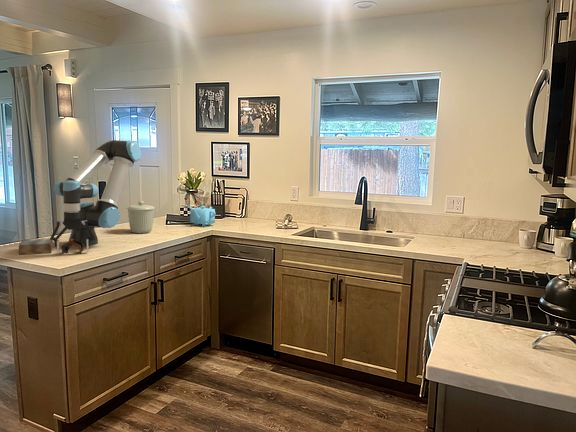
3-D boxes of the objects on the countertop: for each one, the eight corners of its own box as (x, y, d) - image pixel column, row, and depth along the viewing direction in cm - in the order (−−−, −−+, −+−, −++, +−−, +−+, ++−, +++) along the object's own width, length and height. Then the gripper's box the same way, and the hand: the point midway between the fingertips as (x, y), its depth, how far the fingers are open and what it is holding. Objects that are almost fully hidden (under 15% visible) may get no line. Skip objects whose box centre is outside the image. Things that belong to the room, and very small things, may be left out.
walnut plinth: (52, 247, 227) (52, 238, 226) (51, 253, 215) (51, 243, 214) (22, 248, 221) (21, 239, 220) (18, 254, 209) (18, 245, 208)
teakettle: (216, 227, 314) (217, 207, 312) (191, 227, 307) (191, 207, 305) (211, 223, 331) (212, 204, 329) (187, 223, 324) (187, 204, 322)
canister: (127, 229, 287) (127, 199, 284) (155, 229, 293) (155, 199, 290) (126, 234, 270) (125, 202, 267) (155, 234, 276) (155, 202, 273)
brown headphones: (67, 251, 222) (76, 238, 223) (81, 260, 221) (89, 247, 221) (52, 250, 211) (61, 236, 211) (66, 260, 209) (75, 246, 209)
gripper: (98, 210, 221) (99, 249, 224) (44, 210, 210) (45, 252, 213) (99, 211, 215) (99, 252, 218) (43, 212, 204) (44, 255, 207)
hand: (73, 252), depth 216 cm, fingers open, 13 cm apart
